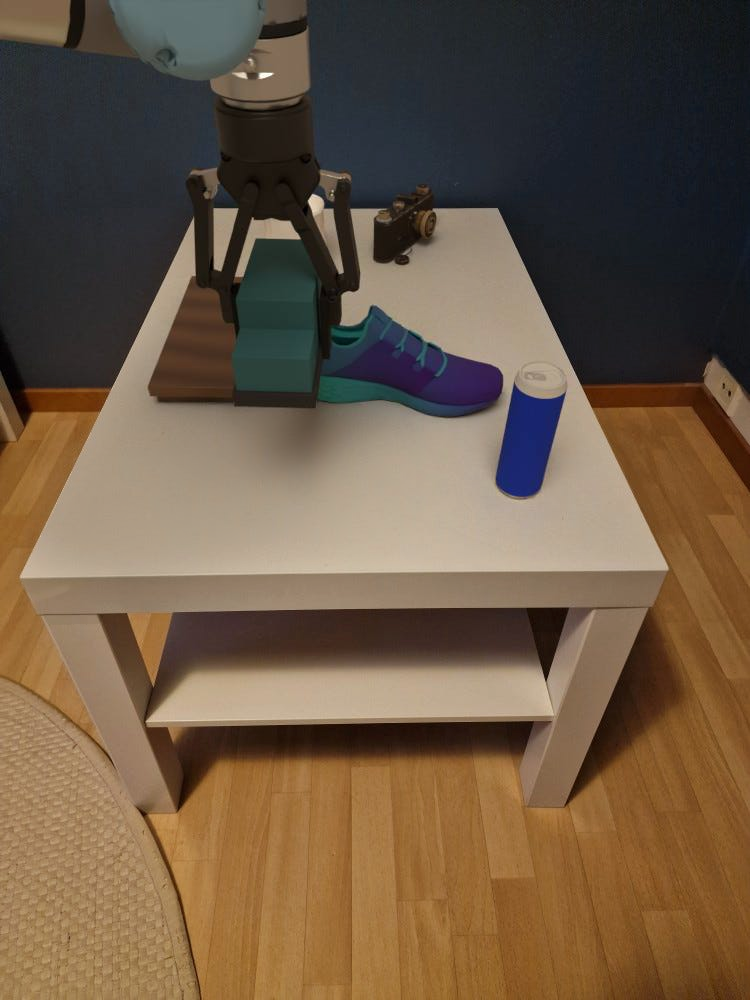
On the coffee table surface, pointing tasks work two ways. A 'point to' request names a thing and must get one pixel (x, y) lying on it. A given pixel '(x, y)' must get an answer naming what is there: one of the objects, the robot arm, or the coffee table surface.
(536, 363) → the beverage can
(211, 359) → the brown wooden board
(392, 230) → the camera
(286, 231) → the cup
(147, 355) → the coffee table surface
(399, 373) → the sneaker
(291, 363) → the teal stepped block
